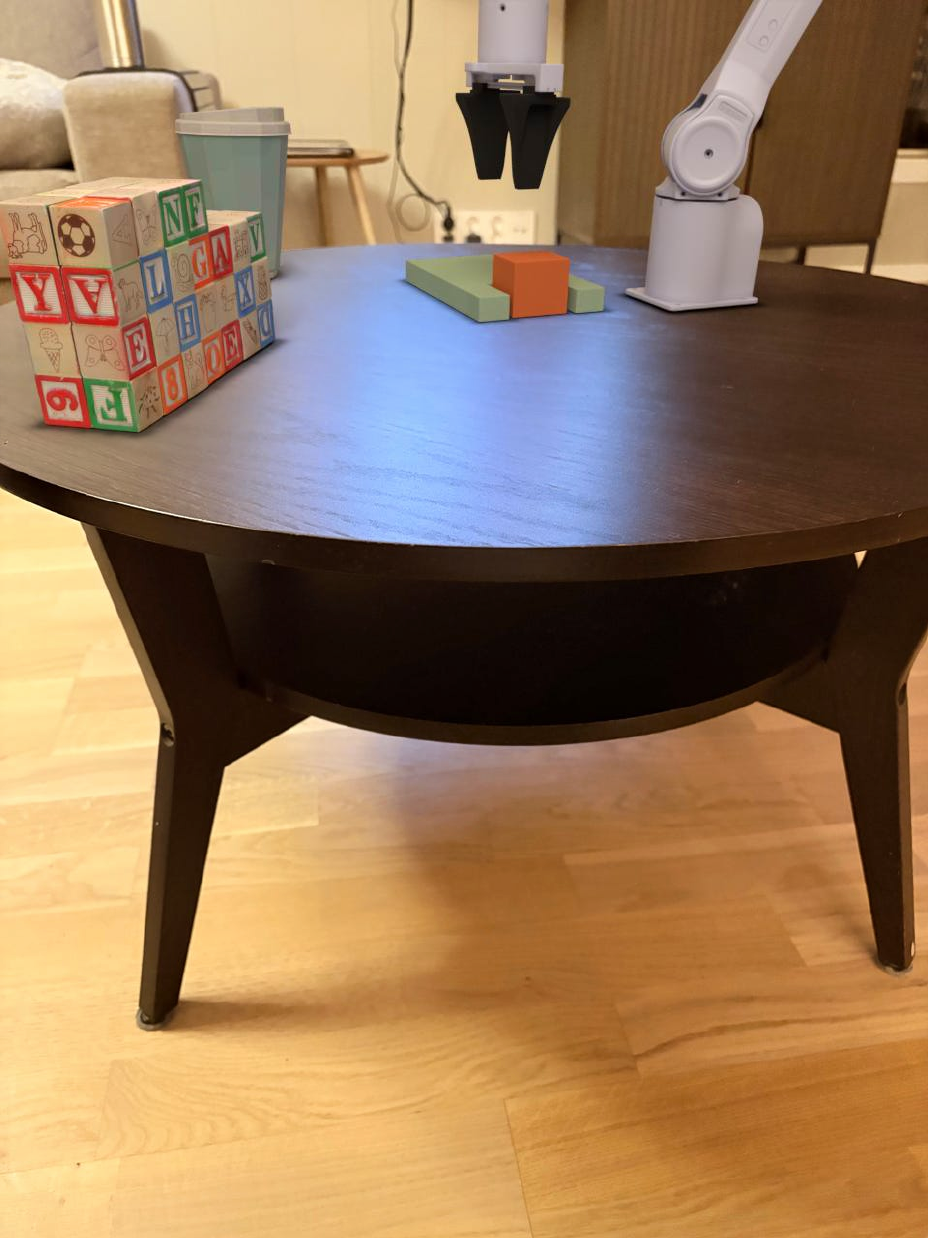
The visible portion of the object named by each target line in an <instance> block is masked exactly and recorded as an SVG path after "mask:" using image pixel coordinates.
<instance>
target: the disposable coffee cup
mask: <svg viewBox="0 0 928 1238" xmlns="http://www.w3.org/2000/svg"><path fill="white" fill-rule="evenodd" d="M291 129H292V128H291V123H290V122H289V121H288V120H285V108H284V107H283V106H248V107H241V108H240V107H239V108H227V109H216V110H206V111H193V112H182V113H181V112H180V113H179V118H176V119H175V121H174V133H175V134H176V136H177V140H178V143H179V148H180V152H181V154H182V155H181V156H182V160H183V164H184V168H185V172H186V177H187V179H193V180H202V184H203V191H204V199H205V206H206V210H215V211H223V210H229V211H249V212H262V217H263V226H264V238H265V248H266V257H268V262H269V272H270V279H274V278H275V277H277V276H278V274H279V273H278V272H279V268H281V259H282V258H281V256H282V243H283V242H282V240H283V229H284V228H283V227H284V209H285V194H286V180H287V179H286V178H287V164H288V150H289V149H288V148H289V136H290V135H292V130H291Z"/></svg>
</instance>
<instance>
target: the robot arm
mask: <svg viewBox="0 0 928 1238" xmlns="http://www.w3.org/2000/svg"><path fill="white" fill-rule="evenodd" d="M823 1H824V0H753V1H752V2H751V4H750V6H749V8H748V9H747V10H746V11H747V12H746V13H745V15H744V17H743V18H742V19H741V20H742V21H740V24H739V26H738V28H737V29H736V31H735V33H734V34H733V36H732V38H731V40H730V42H729V43H728V45H727V47H726V49H725V50H724V53H723V54H722V55H721V58H720V60H719V61H718V63H717V65H715V67H714V68H713V70H712V71H711V73H710V74H709V76H708V77H707V79H705V81H704V83H703V84H702V86H701V88H700V90H699V91H698V93H697V94H696V97H695V98H694V100H693V101H692V102H691V103H690V104H689V105H688V106H687V107H686V108H685V109H683V110H682V111H680V112H679V113H678V114H676V115H675V116H674V118H672V120H671V121H670V122H669V124H668V125H667V127H666V128H665V131H664V132H663V136H662V140H661V144H660V145H661V146H660V152H661V153H660V154H661V160H662V163H663V166H664V167H665V169H666V171H667V172H668V175H667V176H666V177H665V179H664V180H663V182H661V184H659V185H657V186H655V189H654V193H655V194H654V198H653V206H652V215H651V224H650V233H649V245H648V251H647V253H648V254H647V262H646V263H647V264H646V271H645V272H646V273H645V282H644V286H641V287H630V288H629V287H628V288H626V289H625V291H624V292H625V295H627V296H630V297H632V298H635V299H638V300H641V301H643V302H644V303H645V302H646V303H648V304H651V305H653V306H655V307H659V308H661V309H663V310H666V311H669V312H679V311H680V312H681V311H691V310H702V309H712V308H721V307H722V308H724V307H733V306H744V305H745V306H746V305H754V304H757V303H758V300H759V298H758V297H756V296H754V289H755V283H756V277H757V272H758V265H759V259H760V253H761V247H762V241H763V235H764V217H763V212H762V209H761V206H760V204H759V202H757V200H755V199H754V198H753V197H752V196H750V195H747V194H741V193H740V192H741V188H739V187H738V186H737V185H735V183H734V182H736V181H737V179H738V178H739V176H740V175H741V173H742V172H743V170H744V167H745V165H746V163H747V159H748V153H749V146H750V145H749V144H750V139H751V136H752V133H753V132H754V129H755V127H756V126H757V124H758V122H759V120H760V119H761V117H762V115H763V112H764V109H765V106H766V102H767V100H768V97H769V93H770V91H771V89H772V87H773V85H774V84H775V82H776V81H777V79H778V77H779V75H780V73H781V72H782V70H783V69H784V67H785V65H786V63H787V62H788V60H789V58H790V56H791V55H792V53H793V52H794V50H795V48H796V47H797V44H798V43H799V41H800V40H801V38H802V36H803V35H804V33H805V31H806V30H807V28H808V26H809V24H810V23H811V22H812V19H813V18H814V16H815V15H816V13H817V11H818V10H819V7H820V6H821V4H822V2H823ZM549 12H550V0H478V13H477V14H478V15H477V16H478V17H477V18H478V19H477V21H478V23H477V24H478V25H477V62H476V61H475V62H471V61H467V62H464V72H465V87H466V88H471V89H469V92H456V93H455V97H454V98H455V102H456V104H457V106H458V109H459V111H460V112H461V115H462V117H463V120H464V123H465V125H466V129H467V133H468V136H469V141H470V145H471V151H472V156H473V160H474V161H473V162H474V167H475V173H476V176H477V180H478V181H493V180H494V181H495V180H496V181H497V180H502V176H503V173H504V168H505V162H506V161H505V160H506V152H507V144H508V138H509V142H510V156H511V171H512V172H511V175H512V176H511V177H512V182H513V186H514V189H515V190H516V191H517V190H519V191H523V190H539V189H540V187H541V184H542V180H543V177H544V173H545V170H546V166H547V162H548V158H549V155H550V151H551V148H552V144H553V142H554V139H555V137H556V134H557V132H558V129H559V128H560V125H561V124H562V121H563V119H564V118H565V115H566V114H567V113H568V111H569V109H570V107H571V100H572V98H571V97H568V96H557V93H563V85H564V70H565V69H564V68H565V65H564V63H547V53H548V52H547V49H548V34H549V33H548V31H549ZM500 80H511V81H500ZM512 81H514V82H512ZM516 81H518V82H516ZM519 81H521V82H519ZM522 81H523V82H522Z"/></svg>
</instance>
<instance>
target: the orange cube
mask: <svg viewBox="0 0 928 1238" xmlns="http://www.w3.org/2000/svg"><path fill="white" fill-rule="evenodd" d="M492 254H493V281H492V287H493V288H495V289H497V290H500V291H502V292H504V293H506V294H508V295H510V306H509V318H512V319H519V318H530V317H532V318H533V317H541V316H555V315H564V314H568V313H567V312H568V310H567V299H568V284H569V274H570V266H571V258H569V257H565V256H563V255H561V254H557V253H554V252H552V251H549V250H545V249H544V250H532V251H530V250H529V251H517V252H515V251H514V252H501V253H499V252H498V253H492Z"/></svg>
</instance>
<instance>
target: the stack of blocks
mask: <svg viewBox="0 0 928 1238" xmlns="http://www.w3.org/2000/svg"><path fill="white" fill-rule="evenodd" d="M0 231H1V232H0V233H1V235H2V240H3V243H4V249H5V252H6V256H7V259H8V262H9V263H8V264H7V267H8V272H9V276H10V280H11V285H12V290H13V295H14V298H15V303H16V307H17V310H18V315H19V318H20V320H21V322H22V328H23V332H24V335H25V339H26V343H27V347H28V352H29V357H30V361H31V365H32V369H33V371H34V374H33V377H34V382H35V386H36V389H37V395H38V397H39V402H40V407H41V412H42V416H43V420H44V423H45V425H49V426H59V427H60V426H61V427H72V428H83V429H84V428H85V429H92V428H93V429H98V430H99V429H100V430H107V431H108V430H110V431H119V432H132V433H140V432H142V431H143V430H145V429H146V428H148V427H149V426H151V425H152V424H154V423H156V422H157V421H158V420H160V419H161V418H163V416H166V415H169V414H171V412H173V411H174V410H176V409H177V408H178V407H180V406H181V405H183V404H184V403H186V402H187V401H188V400H190V399H192V398H193V397H195V396H196V395H198V394H199V393H201V392H202V391H204V390H205V389H206V388H207V387H209V385H211V384H212V383H213V382H214V381H215V380H217V379H219V378H220V377H222V376H223V375H225V374H226V373H227V372H228V371H231V370H232V369H233V368H235V366H237V365H238V364H240V363H242V361H245V360H246V359H248V358H250V357H251V356H252V355H255V353H257V352H258V351H260V350H263V348H265V347H267V346H268V345H269V344H270V343H272V342H273V341H275V340H276V329H275V319H274V317H275V316H274V307H273V300H272V296H273V294H272V283H271V278H270V272H269V262H268V257H266V248H265V238H264V226H263V217H262V212H249V211H229V210H223V211H215V210H206V206H205V199H204V191H203V184H202V180H193V179H188V178H187V179H186V178H157V177H131V176H130V177H127V176H111V177H106V178H101V179H96V180H92V181H85V182H80V183H77V184H71V185H68V186H65V187H63V188H58V189H54V190H48V191H44V192H40V193H35V194H33V195H26V196H20V197H15V198H11V199H6V200H2V201H0Z"/></svg>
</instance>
